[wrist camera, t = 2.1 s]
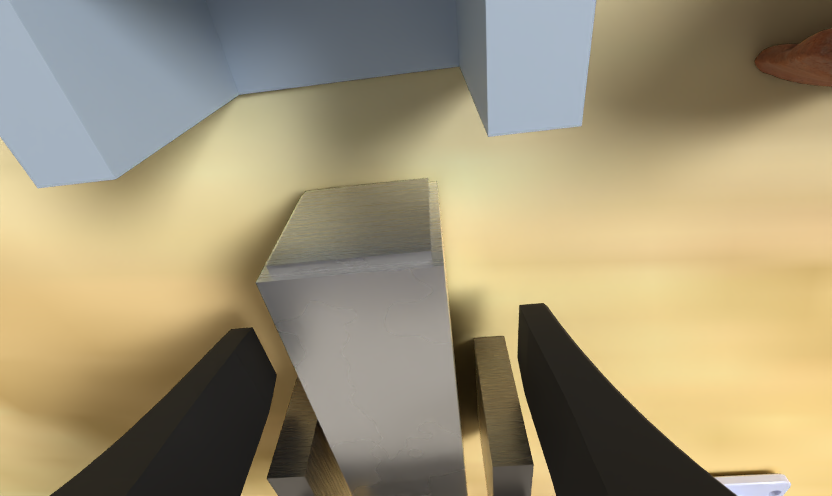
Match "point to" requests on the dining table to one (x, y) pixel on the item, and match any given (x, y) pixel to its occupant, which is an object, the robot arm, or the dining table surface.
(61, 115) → the socket
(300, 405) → the sleeve
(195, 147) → the dining table surface
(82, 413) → the dining table surface
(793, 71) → the pottery mug
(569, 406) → the robot arm
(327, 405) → the bar
